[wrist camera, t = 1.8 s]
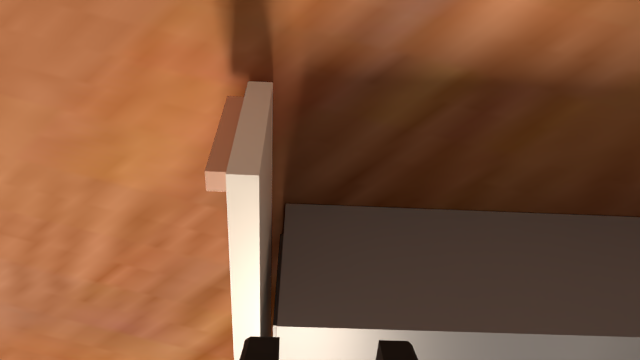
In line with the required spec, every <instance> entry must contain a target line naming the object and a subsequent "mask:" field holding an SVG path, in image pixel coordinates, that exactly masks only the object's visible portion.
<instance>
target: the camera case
mask: <svg viewBox="0 0 640 360" xmlns="http://www.w3.org/2000/svg"><path fill="white" fill-rule="evenodd" d="M273 337H280V342H279V360H376V355H377V349H378V343H379V340H390V341H409V342H410V343H411V344H412V345H413V348H414V351H415V353H416V356H417V358H418V360H640V217H624V216H598V215H572V214H546V213H520V212H494V211H468V210H442V209H416V208H390V207H364V206H338V205H312V204H286V208H285V222H284V234H280V244H279V257H278V270H277V282H276V295H275V307H274V320H273Z"/></svg>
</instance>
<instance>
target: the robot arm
mask: <svg viewBox="0 0 640 360" xmlns="http://www.w3.org/2000/svg"><path fill="white" fill-rule="evenodd" d="M279 342H280V337H255V336H250V337H249V338H247V339H246V340H245V341H244V345H243V349H242V353H241V356H240V359H239V360H279ZM376 360H418V358H417V356H416V353H415V351H414V348H413V345H412V344H411V343H410V342H409V341H390V340H379V343H378V349H377V355H376Z"/></svg>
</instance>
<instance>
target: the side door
mask: <svg viewBox="0 0 640 360" xmlns="http://www.w3.org/2000/svg"><path fill="white" fill-rule="evenodd" d="M272 144H273V82H255V81H248V83H247V88H246V92H245V96H244V97H235V96H227V99H226V103H225V106H224V109H223V113H222V116H221V119H220V122H219V126H218V129H217V132H216V136H215V139H214V142H213V146H212V149H211V152H210V156H209V159H208V162H207V166H206V169H205V181H206V191H219V192H226V194H227V216H228V238H229V260H230V282H231V303H232V325H233V347H234V360H239V359H240V356H241V353H242V349H243V345H244V341H245V340H246V339H247V338H249V337H250V336H255V337H271V261H272Z"/></svg>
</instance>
